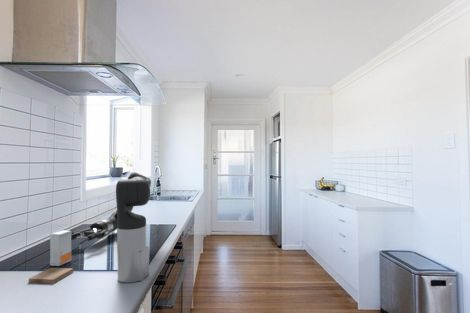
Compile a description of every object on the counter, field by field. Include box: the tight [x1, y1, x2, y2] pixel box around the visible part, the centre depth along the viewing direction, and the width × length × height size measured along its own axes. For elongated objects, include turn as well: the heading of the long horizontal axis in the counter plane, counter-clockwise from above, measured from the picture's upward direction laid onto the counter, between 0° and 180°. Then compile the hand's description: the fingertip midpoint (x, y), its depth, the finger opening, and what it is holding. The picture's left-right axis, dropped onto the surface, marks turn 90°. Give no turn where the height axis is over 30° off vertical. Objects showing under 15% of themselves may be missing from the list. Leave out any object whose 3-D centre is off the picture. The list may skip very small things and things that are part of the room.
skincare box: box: [49, 229, 72, 267], centre depth 107 cm, size 6×4×12 cm
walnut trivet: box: [28, 267, 74, 284], centre depth 95 cm, size 9×9×1 cm
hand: (79, 238), depth 118 cm, fingers open, 8 cm apart
